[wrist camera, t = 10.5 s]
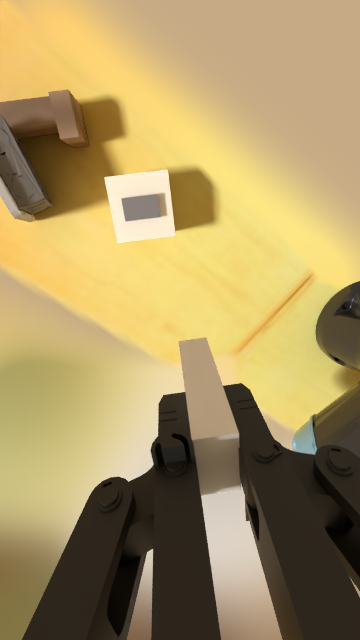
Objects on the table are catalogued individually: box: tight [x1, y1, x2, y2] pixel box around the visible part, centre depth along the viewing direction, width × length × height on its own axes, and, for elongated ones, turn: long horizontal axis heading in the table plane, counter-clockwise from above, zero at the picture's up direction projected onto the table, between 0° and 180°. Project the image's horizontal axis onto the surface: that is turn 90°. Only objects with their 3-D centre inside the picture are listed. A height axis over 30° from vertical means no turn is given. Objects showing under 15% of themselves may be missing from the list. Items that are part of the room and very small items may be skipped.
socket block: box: [104, 169, 176, 243], centre depth 32 cm, size 7×7×7 cm
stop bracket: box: [0, 90, 89, 148], centre depth 29 cm, size 4×17×4 cm, turn 97°
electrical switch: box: [0, 115, 53, 222], centre depth 29 cm, size 9×5×9 cm, turn 20°
